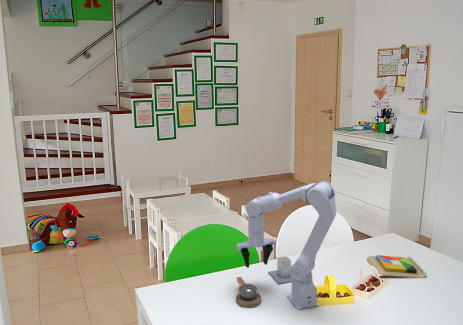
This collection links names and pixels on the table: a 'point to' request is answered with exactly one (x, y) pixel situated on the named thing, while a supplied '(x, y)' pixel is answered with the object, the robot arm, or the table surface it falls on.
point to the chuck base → (248, 303)
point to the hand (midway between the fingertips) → (256, 265)
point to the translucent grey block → (283, 267)
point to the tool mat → (279, 278)
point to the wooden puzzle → (396, 266)
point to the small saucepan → (247, 290)
